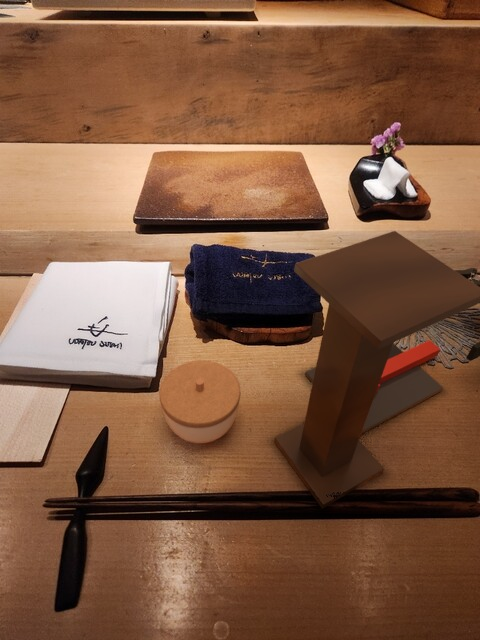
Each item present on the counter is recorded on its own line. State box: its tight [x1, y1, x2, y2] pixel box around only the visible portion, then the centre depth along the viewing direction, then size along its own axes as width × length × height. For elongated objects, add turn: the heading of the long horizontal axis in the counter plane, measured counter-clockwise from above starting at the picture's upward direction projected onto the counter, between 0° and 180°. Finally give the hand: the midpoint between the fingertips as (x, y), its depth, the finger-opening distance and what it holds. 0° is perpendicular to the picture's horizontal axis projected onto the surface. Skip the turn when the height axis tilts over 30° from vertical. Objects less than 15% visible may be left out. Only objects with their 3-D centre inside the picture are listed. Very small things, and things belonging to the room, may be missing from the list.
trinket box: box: [158, 359, 241, 444], centre depth 63 cm, size 11×11×9 cm
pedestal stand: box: [273, 230, 480, 510], centre depth 53 cm, size 12×13×30 cm
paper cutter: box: [304, 343, 444, 435], centre depth 72 cm, size 13×17×1 cm
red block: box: [376, 339, 441, 392], centre depth 73 cm, size 4×20×2 cm, turn 120°
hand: (435, 325), depth 71 cm, fingers open, 13 cm apart
